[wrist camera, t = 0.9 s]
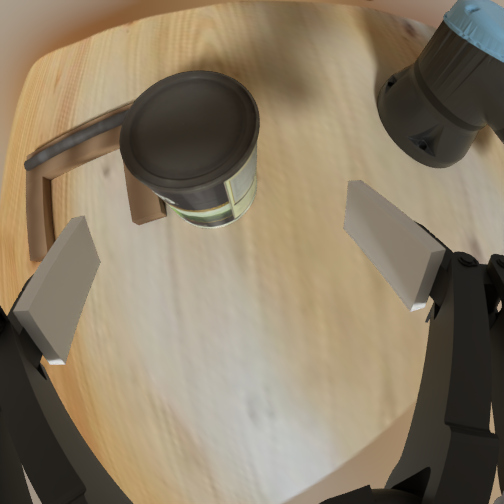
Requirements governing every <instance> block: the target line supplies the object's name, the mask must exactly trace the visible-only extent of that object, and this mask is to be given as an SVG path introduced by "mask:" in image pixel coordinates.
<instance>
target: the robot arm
mask: <svg viewBox="0 0 504 504" xmlns="http://www.w3.org/2000/svg"><path fill="white" fill-rule="evenodd" d="M378 110H379V114H380V118H381V120H382V123H383V125H384V127H385V129H386V130H387V132H388V134H389V135H390V136H391V138H392V139H393V140H394V142H395V143H396V144H397V145H398V146H399V147H400V148H401V149H402V150H403V151H404V152H405V153H406V154H408V155H409V156H410V157H412V158H413V159H415V160H416V161H418V162H420V163H422V164H424V165H426V166H429V167H433V168H446V167H449V166H451V165H453V164H455V163H456V162H458V161H459V160H461V159H462V158H463V157H464V156H465V154H466V153H467V151H468V150H469V148H470V146H471V144H472V142H473V141H474V139H475V137H476V135H477V133H478V131H479V130H480V129H482V128H483V127H484V126H486V125H487V124H488V125H489V126H490V127H491V128H492V129H493V131H494V132H495V133H496V135H497V136H498V137H499V139H500V140H501V141H502V143H503V144H504V8H502V7H501V6H499V5H498V4H496V3H494V2H492V1H490V0H458V1H457V2H456V3H455V4H454V6H453V7H452V8H451V9H450V11H448V12H446V13H445V15H444V20H443V21H442V23H441V24H440V26H439V27H438V29H437V30H436V32H435V33H434V35H433V36H432V38H431V39H430V41H429V42H428V44H427V45H426V47H425V48H424V50H423V51H422V53H421V54H420V56H419V57H418V59H417V60H416V61H415V63H413V64H412V65H410V66H408V67H406V68H404V69H403V70H401V71H399V72H398V73H396V74H394V75H392V76H391V77H390V78H389V79H388V80H387V81H386V83H385V84H384V86H383V87H382V89H381V91H380V93H379V96H378ZM344 230H345V231H346V232H347V233H348V234H349V235H350V237H351V238H352V239H353V240H354V241H355V242H356V244H357V245H358V246H359V247H360V248H361V250H362V251H363V252H364V253H365V254H366V256H367V257H368V258H369V259H370V261H371V262H372V263H373V264H374V265H375V267H376V268H377V269H378V270H379V272H380V273H381V274H382V275H383V277H384V278H385V279H386V280H387V282H388V283H389V284H390V286H391V287H392V288H393V289H394V291H395V292H396V293H397V295H398V296H399V297H400V299H401V300H402V301H403V303H404V304H405V305H406V307H407V308H408V309H409V311H410V312H411V311H414V310H418V309H421V308H424V307H425V305H426V302H427V300H428V297H429V295H430V297H431V298H432V299H433V300H434V303H433V305H432V307H431V310H430V312H429V314H428V316H427V319H426V321H425V322H427V323H428V321H429V319H430V326H429V335H428V343H427V350H426V356H425V363H424V368H423V374H422V379H421V384H420V389H419V394H418V398H417V403H416V407H415V411H414V415H413V419H412V423H411V427H410V430H409V433H408V437H407V440H406V443H405V447H404V450H403V453H402V456H401V458H400V460H399V462H398V464H397V465H396V467H395V468H394V469H393V471H392V473H391V475H390V476H389V478H388V481H387V483H386V486H385V488H384V489H371V488H370V485H367V486H364V487H362V488H359V489H356V490H354V491H351V492H348V493H345V494H342V495H339V496H336V497H333V498H329V499H327V500H325V501H323V502H321V503H320V504H488V503H489V500H490V496H491V492H492V487H493V482H494V478H495V473H496V466H497V468H498V477H499V485H500V490H501V494H502V496H500V497H498V498H497V499H496V500H495V502H494V504H504V256H503V255H499V254H493V255H491V258H490V260H489V263H488V265H487V264H479V262H478V261H477V260H476V259H475V258H474V257H473V256H471V255H470V254H467V253H465V252H454V253H453V252H452V251H451V250H450V249H449V248H448V247H447V246H446V245H444V244H443V243H442V242H441V241H440V240H439V239H438V238H435V236H434V235H433V234H432V233H430V231H429V230H427V229H426V228H425V227H424V226H423V225H421V224H419V223H417V222H415V221H413V220H412V219H411V218H409V217H408V216H407V215H406V214H404V213H403V212H402V211H401V210H400V209H398V208H397V207H396V206H395V205H393V204H392V203H391V202H389V201H388V200H387V199H386V198H384V197H383V196H382V195H380V194H379V193H378V192H376V191H375V190H374V189H372V188H371V187H370V186H368V185H367V184H366V183H364V182H363V181H361V180H357V181H348V190H347V201H346V211H345V221H344ZM100 263H101V262H100V259H99V256H98V254H97V251H96V248H95V245H94V243H93V240H92V237H91V234H90V231H89V228H88V225H87V222H86V219H85V216H80V217H76V218H72V219H71V220H70V221H69V223H68V224H67V226H66V227H65V228H64V230H63V231H62V232H61V234H60V235H59V237H58V238H57V240H56V241H55V242H54V244H53V245H52V247H51V248H50V250H49V251H48V253H47V254H46V256H45V257H44V259H43V261H42V262H41V264H40V265H39V267H38V268H37V270H36V272H35V273H34V274H33V275H32V276H31V277H30V278H29V279H28V280H27V282H26V283H25V285H24V287H23V288H22V291H21V292H20V293H19V295H18V298H17V299H16V301H15V302H14V304H13V306H12V308H11V310H10V312H9V314H8V316H6V314H5V313H4V311H3V309H2V308H1V306H0V504H33V502H32V499H31V496H30V493H29V490H28V486H27V483H26V480H25V476H24V472H23V468H22V465H23V467H24V470H25V472H26V474H27V476H28V478H29V480H30V482H31V484H32V486H33V488H34V490H35V492H36V494H37V495H38V497H39V499H40V501H41V502H42V504H133V503H132V501H131V500H130V499H129V498H128V497H127V496H126V495H125V494H124V492H123V491H122V490H121V489H120V488H119V486H118V485H117V484H116V483H115V482H114V480H113V479H112V478H111V476H110V475H109V474H108V473H107V471H106V470H105V469H104V467H103V466H102V465H101V463H100V462H99V461H98V459H97V458H96V456H95V455H94V454H93V452H92V451H91V449H90V448H89V446H88V445H87V443H86V442H85V440H84V439H83V437H82V436H81V434H80V433H79V431H78V429H77V428H76V426H75V424H74V423H73V421H72V419H71V418H70V416H69V414H68V413H67V411H66V409H65V407H64V405H63V404H62V402H61V400H60V398H59V396H58V394H57V392H56V390H55V388H54V386H53V384H52V382H51V380H50V378H49V376H48V374H47V372H46V370H45V368H44V367H43V365H42V364H41V363H40V360H41V357H42V354H43V356H44V357H45V358H46V360H47V361H48V362H49V363H50V364H66V360H67V357H68V353H69V350H70V346H71V343H72V340H73V337H74V333H75V330H76V327H77V324H78V321H79V318H80V315H81V312H82V309H83V306H84V304H85V301H86V298H87V295H88V293H89V290H90V288H91V285H92V282H93V280H94V277H95V275H96V272H97V270H98V267H99V265H100ZM500 300H501V302H502V308H501V310H500V311H499V312H498V310H497V306H498V304H499V302H500ZM491 403H492V409H493V417H494V426H495V434H494V433H491V432H490V430H489V422H490V410H491ZM21 463H22V464H21Z"/></svg>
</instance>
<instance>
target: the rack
mask: <svg viewBox="0 0 504 504" xmlns="http://www.w3.org/2000/svg"><path fill="white" fill-rule="evenodd" d="M132 104H133V103H132ZM132 104H129V105H127V106H124V107H122V108H119V109H117V110H115V111H112V112H110V113H108V114H105V115H103V116H101V117H99V118H96V119H94V120H92V121H90V122H88V123H86V124H84V125H82V126H80V127H78V128H76V129H74V130H72V131H70V132H68V133H66V134H64V135H62V136H61V137H59V138H57V139H55V140H53V141H51V142H50V143H48V144H46V145H44V146H43V147H41V148H39V149H38V150H36V151H34V152H33V153H31V154H29V155H28V156H27V161H25V163H24V167H25V169H26V215H27V231H28V243H29V253H30V261H37V262H40V261H43V259H44V257H45V256H46V254H47V253H48V251H49V250H50V248H51V247H52V245H53V244H54V242H55V240H54V231H53V221H52V208H51V189H50V180H52V179H54V178H56V177H58V176H60V175H62V174H64V173H66V172H68V171H70V170H72V169H74V168H76V167H78V166H80V165H82V164H85V163H87V162H89V161H91V160H93V159H96V158H98V157H100V156H103V155H105V154H107V153H110V152H112V151H114V150H117V149H119V148H120V145H119V138H120V131H121V127H122V124H123V121H124V118H125V116H126V114H127V112H128V110H129V109H130V107H131V105H132ZM123 163H124V161H123ZM124 171H125V178H126V185H127V192H128V198H129V204H130V210H131V216H132V222H134V223H136V224H138V225H141V224H144V223H147V222H150V221H153V220H156V219H160V218H163V217H166V212H165V207H164V202H163V200H162V199H161V198H160V197H159V196H158V195H156V194H155V193H154V192H153V191H152V190H151V189H150V188H149V187H148V186H146V185H144V184H143V183H141V182H140V181H139V180H137V179H136V178H135V177H134V176H133V175H132V174H131V173H130V171H129V170H128V169H127V167H126V165H125V163H124Z"/></svg>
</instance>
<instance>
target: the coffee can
mask: <svg viewBox="0 0 504 504" xmlns="http://www.w3.org/2000/svg"><path fill="white" fill-rule="evenodd" d="M259 127H260V118H259V111H258V107H257V105H256V102H255V100H254V98H253V97H252V95H251V94H250V92H249V91H248V90H247V89H246V88H245V87H244V86H243V85H242V84H241V83H239V82H238V81H236V80H235V79H233V78H231V77H229V76H227V75H224V74H221V73H217V72H212V71H188V72H182V73H178V74H175V75H172V76H169V77H167V78H164V79H162V80H160V81H159V82H157V83H155V84H154V85H152V86H151V87H150V88H148V89H147V90H146V91H144V92H143V93H142V94H141V95H140V96H139V97H138V98H137V99H136V100H135V102H134V103H133V104H132V105H131V107H130V109H129V110H128V112H127V114H126V116H125V118H124V121H123V124H122V127H121V131H120V138H119V145H120V152H121V155H122V159H123V161H124V163H125V165H126V167H127V169H128V170H129V171H130V173H131V174H132V175H133V176H134V177H135V178H136V179H137V180H139V181H140V182H141V183H143V184H144V185H146V186H148V187H149V188H150V189H151V190H152V191H153V192H154V193H155V194H156V195H158V196H159V197H160V198H161V199H162V200H163V201H164V202H165V203H167V204H168V205H169V206H170V207H171V208H172V209H173V210H174V211H175V212H176V213H177V214H178V215H179V216H180V217H181V218H182V219H183V220H185V221H186V222H188V223H190V224H191V225H194V226H197V227H200V228H208V229H212V228H220V227H224V226H226V225H229V224H231V223H233V222H235V221H237V220H238V219H239V218H241V217H242V216H243V215H244V214H245V213H246V211H247V210H248V209H249V207H250V206H251V204H252V202H253V200H254V197H255V194H256V189H257V180H256V165H257V138H258V134H259Z"/></svg>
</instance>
